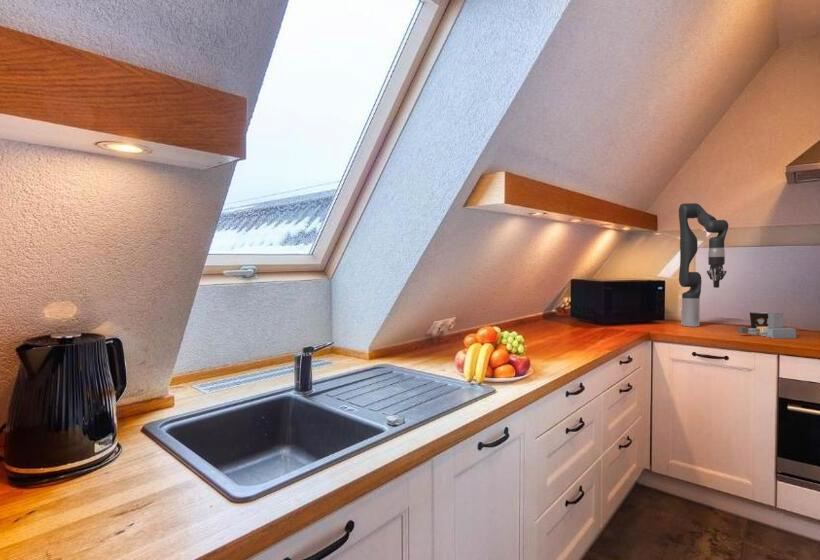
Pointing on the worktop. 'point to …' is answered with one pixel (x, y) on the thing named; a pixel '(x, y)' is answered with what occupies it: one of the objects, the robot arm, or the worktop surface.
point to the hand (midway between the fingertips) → (716, 287)
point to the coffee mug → (758, 319)
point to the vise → (778, 333)
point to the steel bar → (775, 320)
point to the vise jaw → (753, 329)
